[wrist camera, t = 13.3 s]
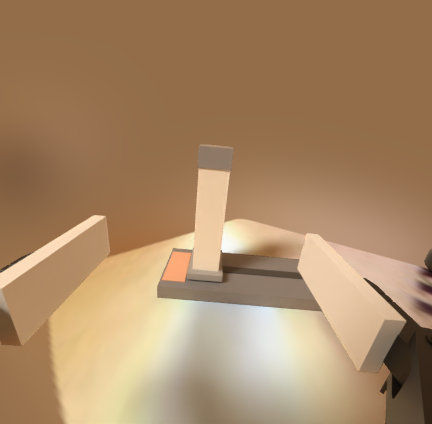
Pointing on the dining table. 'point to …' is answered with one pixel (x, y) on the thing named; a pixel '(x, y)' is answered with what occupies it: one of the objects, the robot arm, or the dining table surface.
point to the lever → (210, 212)
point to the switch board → (240, 282)
